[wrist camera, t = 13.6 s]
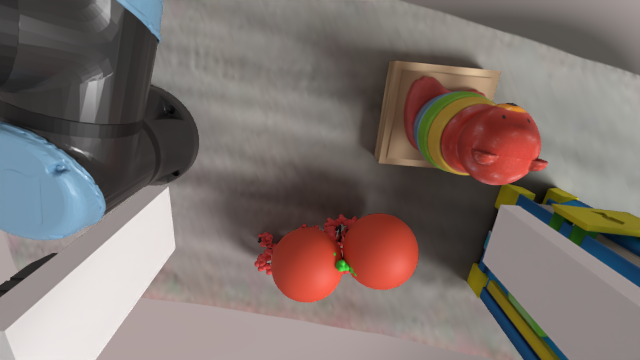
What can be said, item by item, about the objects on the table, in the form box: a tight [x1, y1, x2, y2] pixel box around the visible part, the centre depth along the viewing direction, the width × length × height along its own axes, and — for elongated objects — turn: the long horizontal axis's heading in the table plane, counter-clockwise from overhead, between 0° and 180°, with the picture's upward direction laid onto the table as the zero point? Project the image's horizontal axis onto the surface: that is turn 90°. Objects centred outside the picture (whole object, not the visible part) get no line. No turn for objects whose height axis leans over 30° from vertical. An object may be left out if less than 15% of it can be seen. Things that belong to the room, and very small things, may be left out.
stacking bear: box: [404, 76, 548, 185], centre depth 33 cm, size 11×10×18 cm
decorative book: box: [467, 184, 640, 360], centre depth 39 cm, size 14×23×30 cm, turn 173°
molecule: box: [255, 213, 419, 302], centre depth 45 cm, size 25×11×15 cm, turn 107°
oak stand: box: [374, 61, 501, 168], centre depth 44 cm, size 14×14×4 cm
